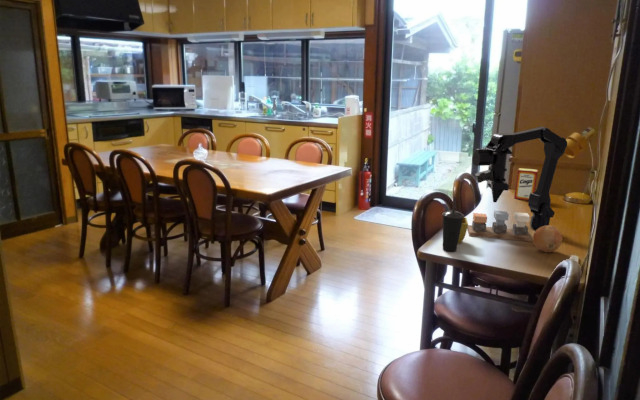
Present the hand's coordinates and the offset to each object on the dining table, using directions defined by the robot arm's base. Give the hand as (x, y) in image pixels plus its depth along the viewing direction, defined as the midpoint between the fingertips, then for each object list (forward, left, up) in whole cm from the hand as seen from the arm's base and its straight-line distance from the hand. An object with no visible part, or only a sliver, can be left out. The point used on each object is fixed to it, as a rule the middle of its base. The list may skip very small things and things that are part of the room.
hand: (494, 202), depth 196 cm
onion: (-17, +20, -13) cm, 29 cm away
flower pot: (+17, +19, -13) cm, 28 cm away
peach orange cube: (+6, +5, -10) cm, 13 cm away
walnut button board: (-2, +5, -12) cm, 13 cm away
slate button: (-2, +5, -8) cm, 10 cm away
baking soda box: (-26, -65, -13) cm, 71 cm away
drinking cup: (+19, +29, -13) cm, 37 cm away
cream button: (-10, +5, -8) cm, 14 cm away
